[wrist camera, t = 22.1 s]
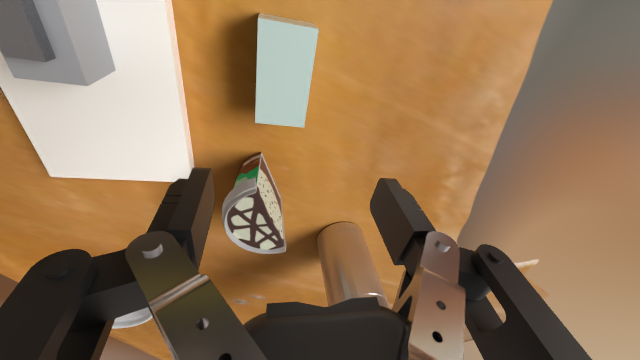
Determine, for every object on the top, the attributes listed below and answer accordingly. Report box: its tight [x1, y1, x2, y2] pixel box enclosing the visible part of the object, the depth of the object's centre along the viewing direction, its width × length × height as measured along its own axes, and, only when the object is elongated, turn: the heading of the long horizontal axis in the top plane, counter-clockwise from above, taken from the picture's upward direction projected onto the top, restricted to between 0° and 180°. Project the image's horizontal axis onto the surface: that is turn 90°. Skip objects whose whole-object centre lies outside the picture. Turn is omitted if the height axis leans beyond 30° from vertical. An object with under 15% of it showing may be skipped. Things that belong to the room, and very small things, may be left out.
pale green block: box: [255, 13, 319, 127], centre depth 28 cm, size 10×6×5 cm, turn 170°
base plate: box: [0, 0, 195, 182], centre depth 25 cm, size 24×16×7 cm, turn 170°
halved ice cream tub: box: [222, 152, 286, 254], centre depth 35 cm, size 12×6×10 cm, turn 12°
